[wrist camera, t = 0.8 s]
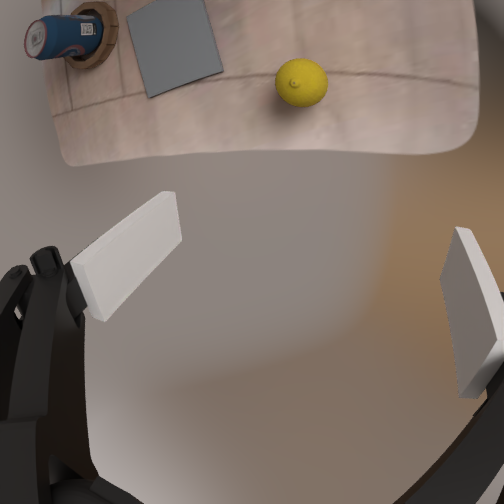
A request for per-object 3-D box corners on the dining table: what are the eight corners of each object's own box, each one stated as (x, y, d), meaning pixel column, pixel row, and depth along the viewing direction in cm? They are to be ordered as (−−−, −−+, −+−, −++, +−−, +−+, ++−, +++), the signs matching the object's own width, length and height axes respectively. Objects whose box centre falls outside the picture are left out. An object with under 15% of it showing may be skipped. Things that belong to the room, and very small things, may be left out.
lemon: (305, 51, 32) (291, 45, 25) (340, 82, 33) (335, 83, 26) (275, 83, 35) (255, 84, 29) (309, 113, 36) (296, 121, 29)
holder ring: (65, 24, 37) (57, 24, 36) (110, -10, 33) (102, -11, 31) (77, 78, 42) (69, 79, 41) (124, 48, 38) (116, 49, 36)
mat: (128, 17, 35) (126, 16, 34) (198, -18, 30) (195, -19, 29) (150, 97, 41) (148, 97, 40) (223, 71, 36) (221, 71, 36)
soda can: (79, 58, 40) (23, 67, 31) (78, 22, 37) (21, 26, 27) (108, 48, 38) (48, 54, 29) (106, 10, 35) (47, 8, 25)
